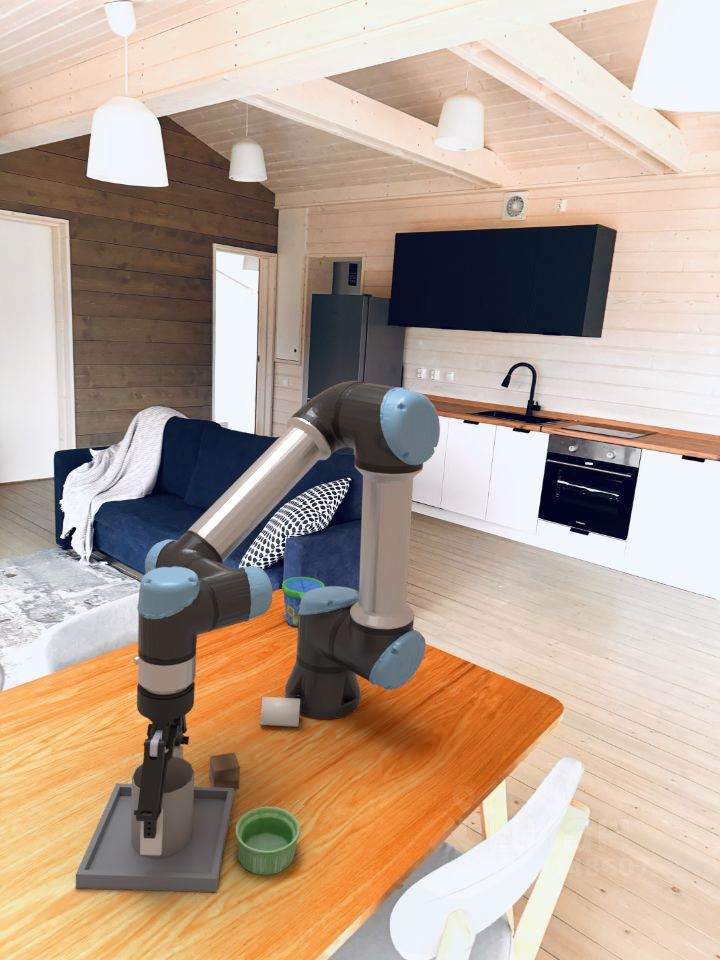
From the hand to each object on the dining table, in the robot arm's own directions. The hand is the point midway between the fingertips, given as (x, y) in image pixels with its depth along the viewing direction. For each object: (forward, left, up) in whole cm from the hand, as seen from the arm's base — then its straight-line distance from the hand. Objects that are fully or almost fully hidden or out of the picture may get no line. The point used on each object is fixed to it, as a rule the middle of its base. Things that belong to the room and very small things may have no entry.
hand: (162, 817), depth 98 cm
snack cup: (-18, -76, -4) cm, 78 cm away
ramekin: (-15, +2, -4) cm, 16 cm away
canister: (-15, -30, +1) cm, 34 cm away
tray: (0, 0, -4) cm, 4 cm away
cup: (0, 0, -3) cm, 3 cm away
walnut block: (-7, -13, -4) cm, 15 cm away
